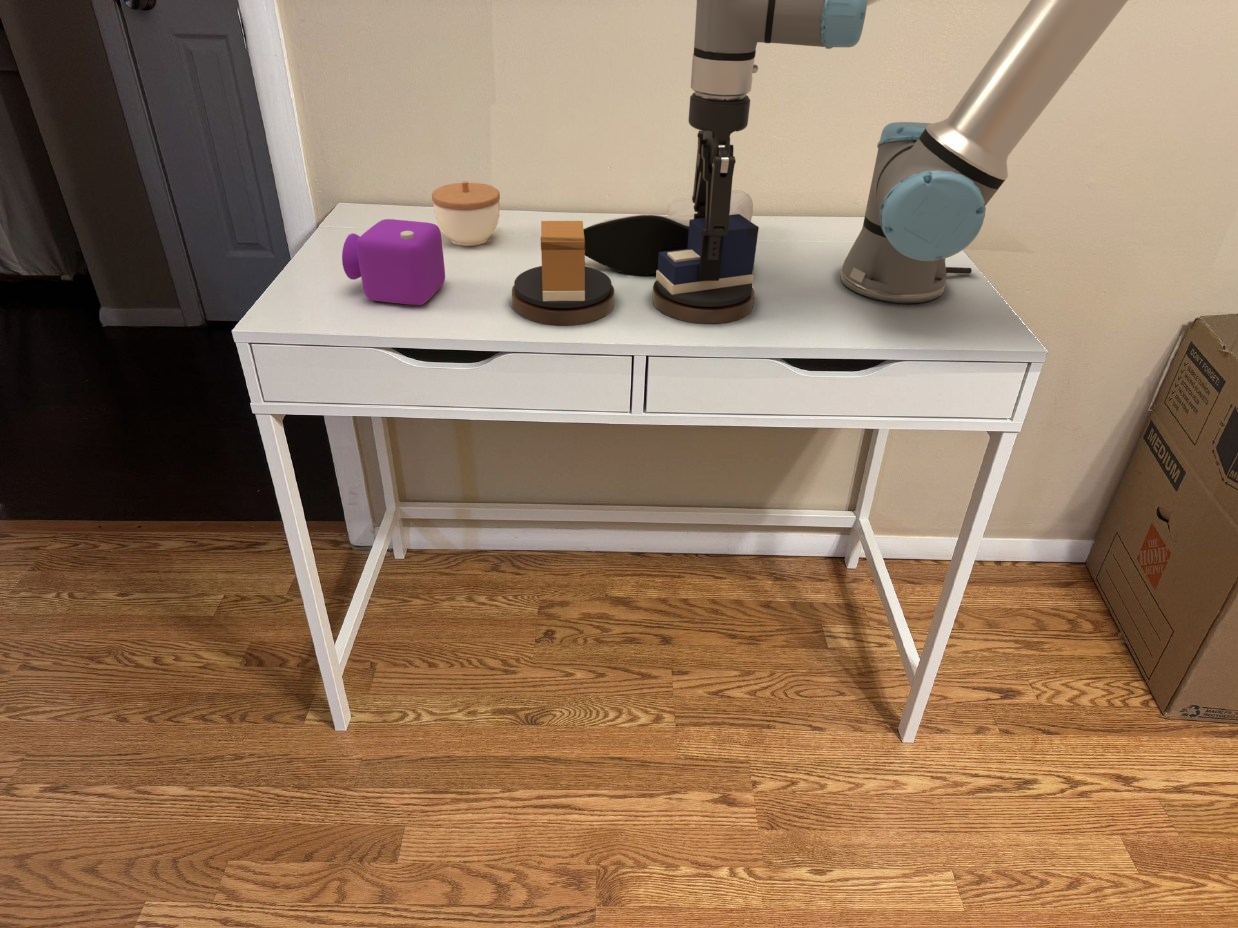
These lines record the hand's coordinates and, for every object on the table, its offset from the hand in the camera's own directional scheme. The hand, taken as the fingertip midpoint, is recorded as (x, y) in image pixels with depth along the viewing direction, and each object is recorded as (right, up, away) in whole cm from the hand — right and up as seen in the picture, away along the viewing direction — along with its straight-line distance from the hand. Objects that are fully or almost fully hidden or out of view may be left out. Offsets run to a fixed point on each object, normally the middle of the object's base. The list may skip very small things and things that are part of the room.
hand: (704, 269), depth 117 cm
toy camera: (-44, -3, +3) cm, 44 cm away
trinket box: (-37, +10, +21) cm, 43 cm away
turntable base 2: (0, -4, +3) cm, 5 cm away
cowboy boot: (-4, +8, +20) cm, 21 cm away
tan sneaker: (-20, -3, 0) cm, 20 cm away
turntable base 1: (-20, -5, +2) cm, 20 cm away
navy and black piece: (0, -2, +2) cm, 3 cm away
